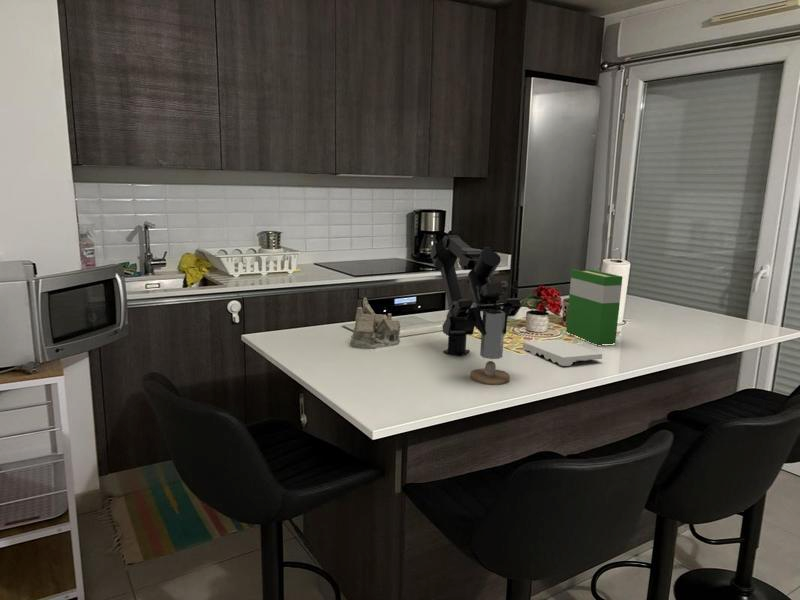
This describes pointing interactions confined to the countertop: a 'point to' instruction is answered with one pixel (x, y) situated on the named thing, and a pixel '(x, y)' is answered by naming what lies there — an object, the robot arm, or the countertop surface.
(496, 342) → the steel sleeve
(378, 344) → the ceramic cottage
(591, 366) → the countertop surface
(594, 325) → the hardback book
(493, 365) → the post stand
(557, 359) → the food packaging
